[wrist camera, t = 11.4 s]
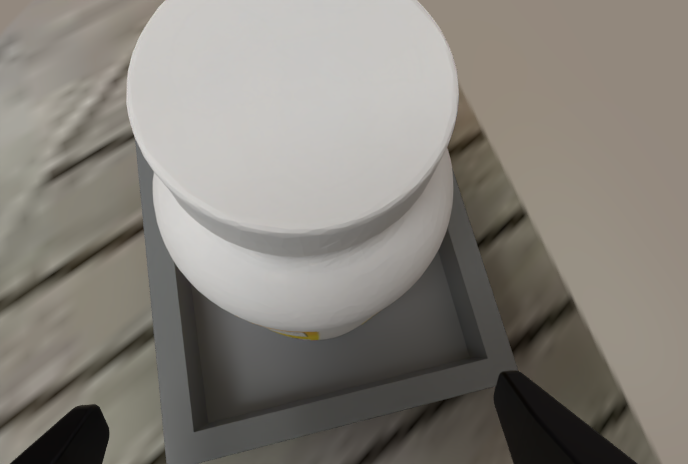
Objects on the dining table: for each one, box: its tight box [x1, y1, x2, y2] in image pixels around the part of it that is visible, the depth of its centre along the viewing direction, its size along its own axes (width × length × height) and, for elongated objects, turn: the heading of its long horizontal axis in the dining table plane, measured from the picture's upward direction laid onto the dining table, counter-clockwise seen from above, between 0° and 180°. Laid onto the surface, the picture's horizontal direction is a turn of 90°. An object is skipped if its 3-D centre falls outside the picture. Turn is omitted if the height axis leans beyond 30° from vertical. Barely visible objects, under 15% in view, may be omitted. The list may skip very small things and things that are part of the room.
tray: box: [135, 139, 518, 464], centre depth 17 cm, size 13×13×2 cm
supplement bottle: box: [126, 0, 459, 341], centre depth 12 cm, size 7×7×13 cm
